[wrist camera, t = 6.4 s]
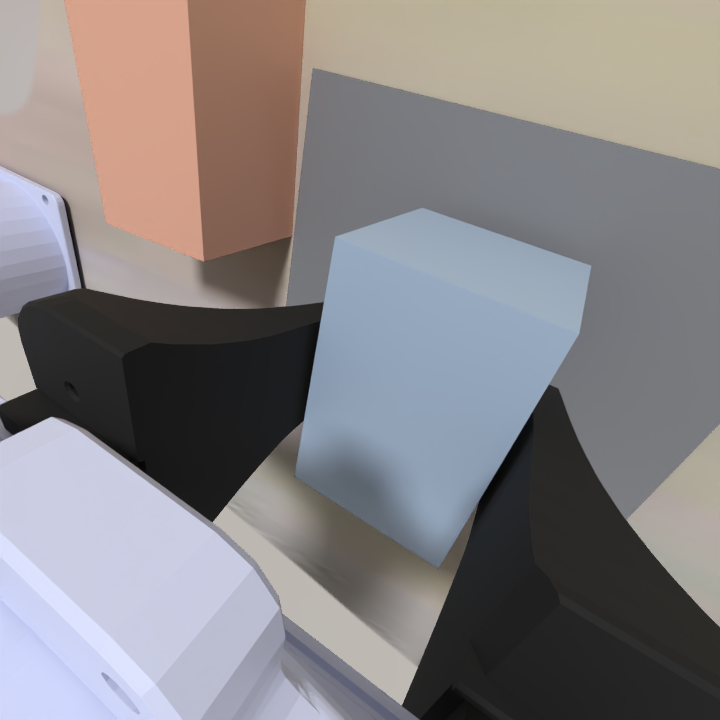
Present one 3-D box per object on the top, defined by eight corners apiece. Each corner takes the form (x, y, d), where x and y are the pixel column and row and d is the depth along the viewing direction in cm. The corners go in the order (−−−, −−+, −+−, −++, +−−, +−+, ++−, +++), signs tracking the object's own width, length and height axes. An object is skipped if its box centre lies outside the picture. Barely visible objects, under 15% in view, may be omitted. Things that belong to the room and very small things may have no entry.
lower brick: (368, 399, 15) (294, 476, 11) (422, 207, 11) (334, 236, 8) (483, 460, 14) (438, 569, 10) (591, 265, 10) (578, 333, 6)
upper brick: (208, 206, 17) (106, 223, 14) (197, -12, 13) (51, -67, 10) (294, 235, 16) (204, 261, 12) (308, -2, 12) (183, -62, 8)
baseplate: (285, 377, 19) (277, 383, 19) (324, 70, 12) (312, 67, 12) (590, 544, 15) (589, 557, 14) (902, 214, 8) (920, 218, 8)
